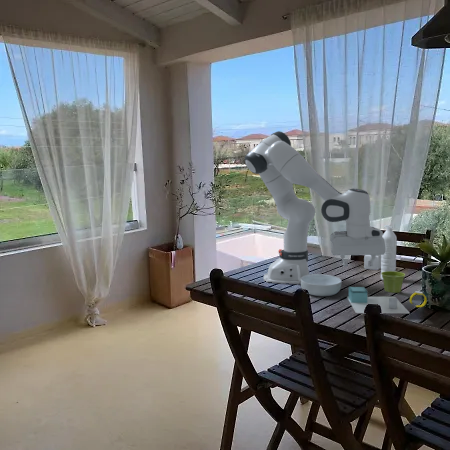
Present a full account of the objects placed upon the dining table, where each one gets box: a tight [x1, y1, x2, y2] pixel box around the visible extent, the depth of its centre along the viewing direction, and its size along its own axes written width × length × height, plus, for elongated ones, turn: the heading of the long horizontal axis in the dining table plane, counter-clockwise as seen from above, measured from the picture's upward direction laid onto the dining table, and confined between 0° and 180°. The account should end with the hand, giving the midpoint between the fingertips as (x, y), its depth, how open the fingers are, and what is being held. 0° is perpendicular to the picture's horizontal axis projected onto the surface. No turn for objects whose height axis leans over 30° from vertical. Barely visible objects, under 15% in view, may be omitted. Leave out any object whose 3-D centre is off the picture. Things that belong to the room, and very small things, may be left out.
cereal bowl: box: [300, 273, 342, 297], centre depth 184 cm, size 17×17×7 cm
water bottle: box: [380, 224, 398, 281], centre depth 204 cm, size 9×6×25 cm
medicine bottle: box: [363, 255, 382, 271], centre depth 225 cm, size 7×7×12 cm
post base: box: [346, 296, 410, 314], centre depth 166 cm, size 19×19×5 cm
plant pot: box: [380, 270, 406, 294], centre depth 183 cm, size 9×9×9 cm
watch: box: [409, 290, 428, 308], centre depth 167 cm, size 6×3×6 cm, turn 87°
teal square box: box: [348, 286, 368, 304], centre depth 172 cm, size 6×6×4 cm
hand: (357, 265), depth 170 cm, fingers open, 8 cm apart
